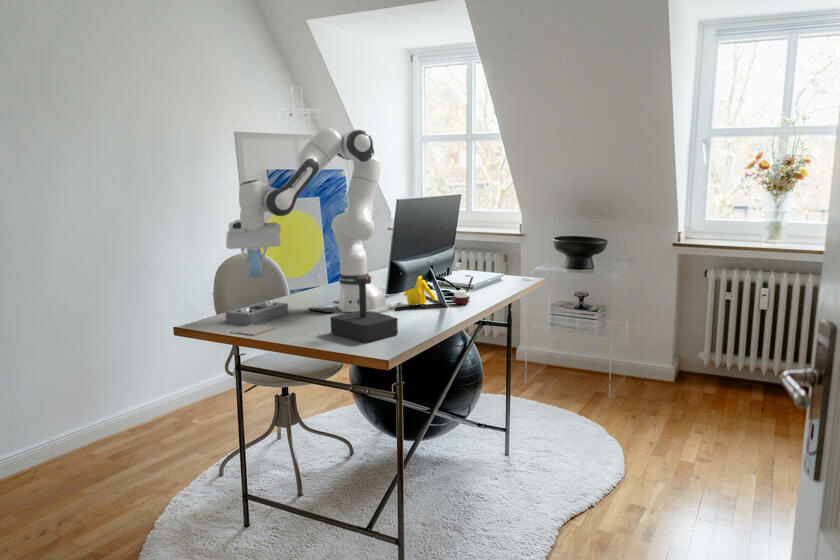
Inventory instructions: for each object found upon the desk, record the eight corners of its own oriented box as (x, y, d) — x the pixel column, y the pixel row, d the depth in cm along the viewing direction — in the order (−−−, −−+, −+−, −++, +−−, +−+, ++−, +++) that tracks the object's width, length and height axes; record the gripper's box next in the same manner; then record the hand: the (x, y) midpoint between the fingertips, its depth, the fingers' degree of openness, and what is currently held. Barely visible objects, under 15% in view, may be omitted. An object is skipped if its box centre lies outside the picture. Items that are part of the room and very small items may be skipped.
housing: (264, 310, 259) (264, 301, 258) (288, 313, 254) (287, 303, 253) (226, 322, 240) (225, 312, 239) (251, 325, 234) (250, 314, 234)
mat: (274, 328, 229) (274, 327, 229) (254, 335, 219) (254, 334, 219) (251, 325, 234) (251, 324, 234) (230, 332, 224) (230, 331, 224)
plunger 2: (275, 311, 253) (274, 300, 253) (270, 313, 251) (269, 302, 250) (269, 310, 255) (268, 300, 254) (263, 312, 252) (263, 301, 251)
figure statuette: (439, 306, 263) (439, 253, 259) (427, 309, 257) (427, 255, 254) (407, 301, 274) (406, 250, 271) (395, 304, 268) (394, 252, 265)
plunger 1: (251, 318, 241) (251, 307, 240) (246, 320, 238) (245, 309, 237) (245, 318, 242) (244, 306, 242) (239, 319, 240) (238, 308, 239)
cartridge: (261, 275, 247) (259, 246, 245) (262, 276, 242) (260, 247, 240) (249, 275, 245) (247, 247, 243) (250, 277, 241) (248, 248, 239)
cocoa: (449, 305, 266) (447, 277, 264) (458, 302, 271) (456, 275, 269) (467, 307, 260) (465, 278, 258) (476, 304, 264) (474, 276, 262)
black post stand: (402, 334, 219) (401, 277, 215) (365, 344, 207) (363, 284, 204) (366, 325, 232) (364, 272, 229) (329, 334, 220) (327, 278, 217)
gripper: (279, 221, 247) (281, 256, 249) (224, 223, 240) (227, 259, 242) (281, 222, 241) (283, 258, 243) (225, 225, 234) (227, 261, 237)
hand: (254, 259), depth 243 cm, fingers closed on cartridge, 5 cm apart
